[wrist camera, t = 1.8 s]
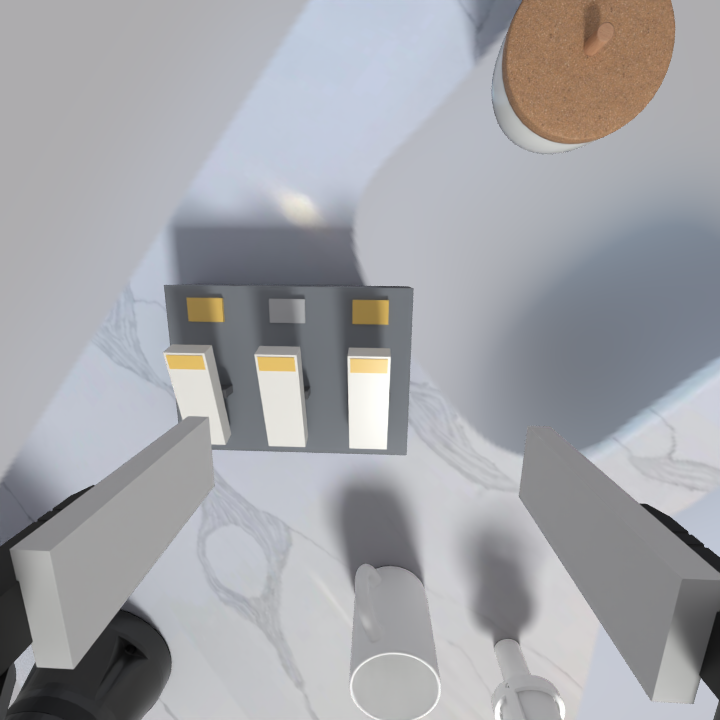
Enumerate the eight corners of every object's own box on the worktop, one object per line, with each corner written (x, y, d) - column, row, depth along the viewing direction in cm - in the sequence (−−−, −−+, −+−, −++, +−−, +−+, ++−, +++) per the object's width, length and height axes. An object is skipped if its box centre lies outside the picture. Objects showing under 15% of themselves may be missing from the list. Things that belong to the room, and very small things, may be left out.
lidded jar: (513, 5, 30) (574, -113, 21) (629, 63, 31) (737, -28, 21) (453, 139, 32) (484, 86, 23) (561, 191, 33) (633, 159, 24)
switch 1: (196, 433, 33) (189, 444, 32) (171, 344, 29) (162, 352, 28) (231, 434, 33) (225, 445, 32) (211, 345, 29) (204, 353, 28)
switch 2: (272, 435, 33) (268, 446, 32) (259, 345, 29) (254, 354, 28) (308, 436, 33) (305, 447, 32) (300, 346, 29) (296, 355, 27)
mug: (329, 551, 42) (314, 637, 32) (395, 526, 41) (401, 607, 31) (373, 630, 44) (372, 733, 34) (437, 608, 43) (455, 708, 33)
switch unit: (205, 427, 39) (172, 456, 33) (192, 283, 36) (153, 285, 30) (402, 432, 39) (407, 463, 32) (408, 286, 35) (415, 288, 29)
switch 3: (350, 437, 33) (349, 448, 32) (348, 347, 29) (347, 356, 27) (386, 438, 33) (386, 449, 32) (390, 348, 28) (390, 357, 27)
